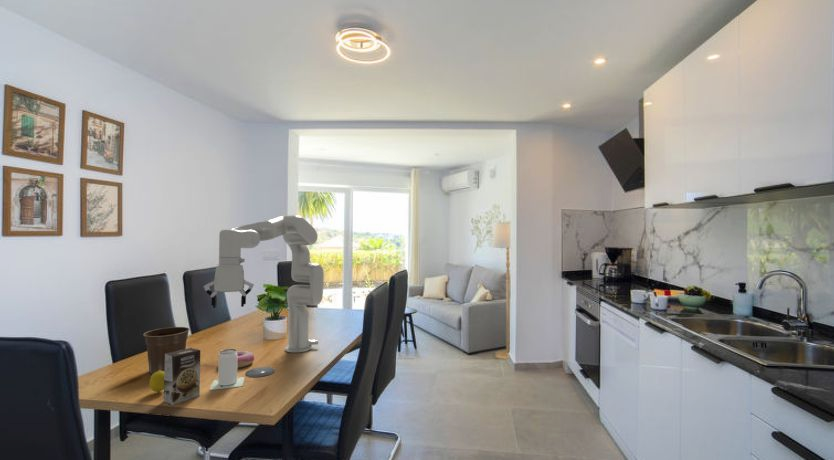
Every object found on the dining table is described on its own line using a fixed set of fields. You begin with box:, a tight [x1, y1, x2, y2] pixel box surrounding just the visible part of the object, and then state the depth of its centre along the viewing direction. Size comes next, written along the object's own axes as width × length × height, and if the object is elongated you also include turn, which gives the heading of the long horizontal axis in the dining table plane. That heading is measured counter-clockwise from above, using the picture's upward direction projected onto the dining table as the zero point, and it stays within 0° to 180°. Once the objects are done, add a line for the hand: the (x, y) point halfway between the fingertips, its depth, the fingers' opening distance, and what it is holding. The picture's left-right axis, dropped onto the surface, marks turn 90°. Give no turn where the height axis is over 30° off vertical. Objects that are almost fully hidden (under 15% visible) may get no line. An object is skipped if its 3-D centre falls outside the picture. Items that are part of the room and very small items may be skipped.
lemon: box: [149, 370, 164, 394], centre depth 139 cm, size 6×6×8 cm
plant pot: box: [142, 326, 191, 375], centre depth 162 cm, size 16×16×16 cm
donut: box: [236, 350, 255, 369], centre depth 169 cm, size 14×13×5 cm
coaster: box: [245, 366, 276, 378], centre depth 160 cm, size 11×11×1 cm
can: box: [217, 348, 238, 386], centre depth 148 cm, size 6×6×12 cm
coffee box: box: [163, 347, 201, 406], centre depth 134 cm, size 9×6×16 cm
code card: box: [208, 376, 246, 391], centre depth 148 cm, size 11×10×1 cm
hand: (228, 306), depth 149 cm, fingers open, 9 cm apart
